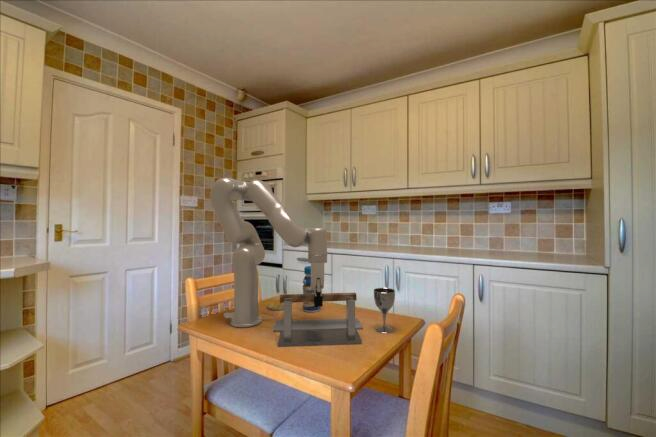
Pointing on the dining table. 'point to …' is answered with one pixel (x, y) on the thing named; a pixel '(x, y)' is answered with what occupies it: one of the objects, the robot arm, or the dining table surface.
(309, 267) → the beverage bottle
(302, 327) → the grey mat
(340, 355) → the dining table surface
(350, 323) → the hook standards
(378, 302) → the wine glass
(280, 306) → the bread roll
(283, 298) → the walnut rail
